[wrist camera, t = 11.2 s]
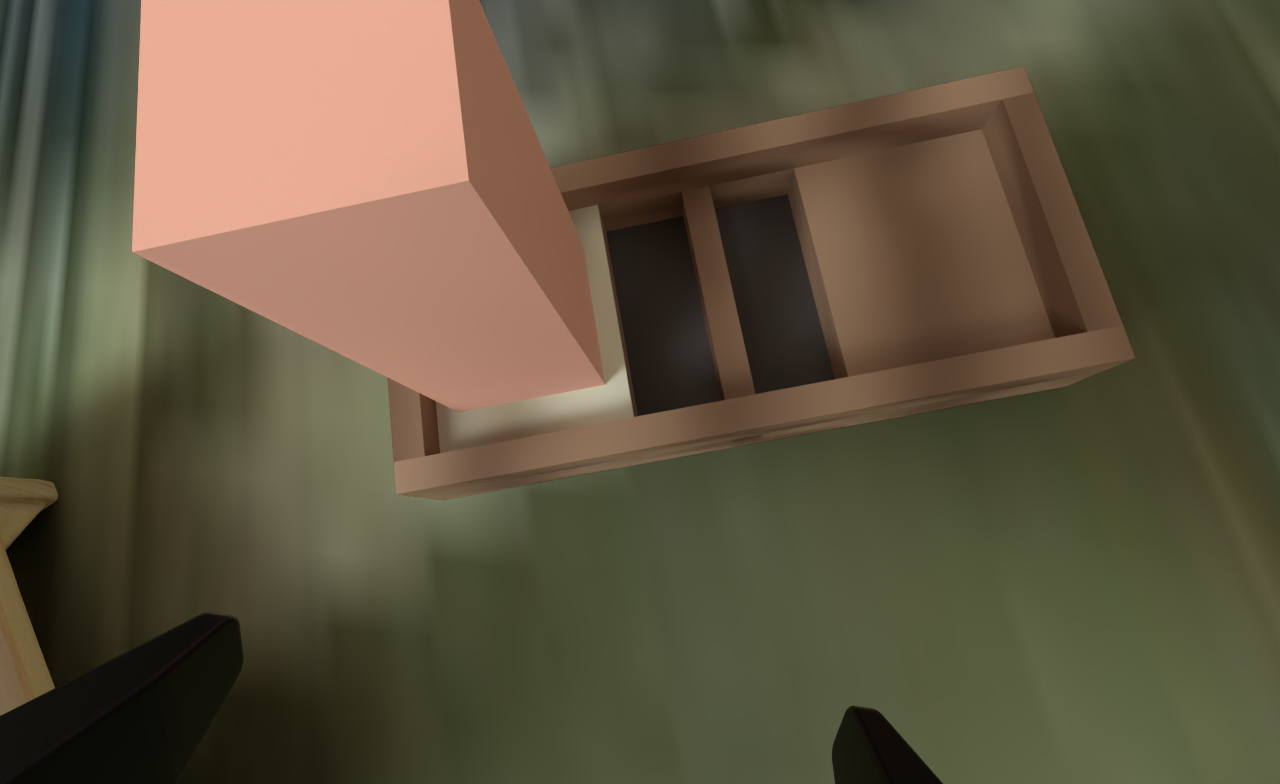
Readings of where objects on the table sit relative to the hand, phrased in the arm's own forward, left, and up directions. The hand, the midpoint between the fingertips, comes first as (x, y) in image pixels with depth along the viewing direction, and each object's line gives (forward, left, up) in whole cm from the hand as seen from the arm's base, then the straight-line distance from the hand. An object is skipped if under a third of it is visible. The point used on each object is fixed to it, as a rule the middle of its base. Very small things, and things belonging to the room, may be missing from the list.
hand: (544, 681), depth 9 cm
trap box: (+10, +4, -12) cm, 16 cm away
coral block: (+4, +8, -10) cm, 14 cm away
